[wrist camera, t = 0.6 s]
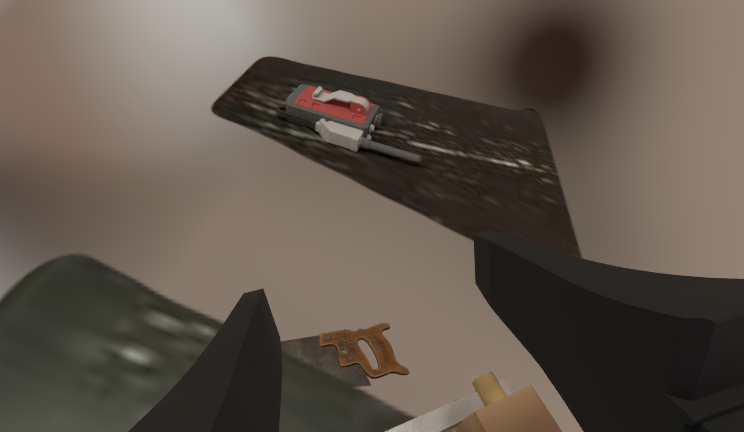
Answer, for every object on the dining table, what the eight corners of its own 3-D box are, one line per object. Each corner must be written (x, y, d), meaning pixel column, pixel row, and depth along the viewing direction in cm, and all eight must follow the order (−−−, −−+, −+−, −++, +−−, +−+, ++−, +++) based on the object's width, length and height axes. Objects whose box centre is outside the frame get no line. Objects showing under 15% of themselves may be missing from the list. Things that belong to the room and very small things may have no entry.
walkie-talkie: (268, 127, 47) (416, 173, 45) (266, 96, 44) (425, 144, 42) (297, 98, 53) (428, 137, 51) (297, 68, 50) (437, 109, 48)
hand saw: (29, 457, 22) (22, 454, 21) (54, 378, 24) (49, 374, 24) (409, 379, 28) (411, 376, 27) (393, 324, 31) (395, 320, 30)
